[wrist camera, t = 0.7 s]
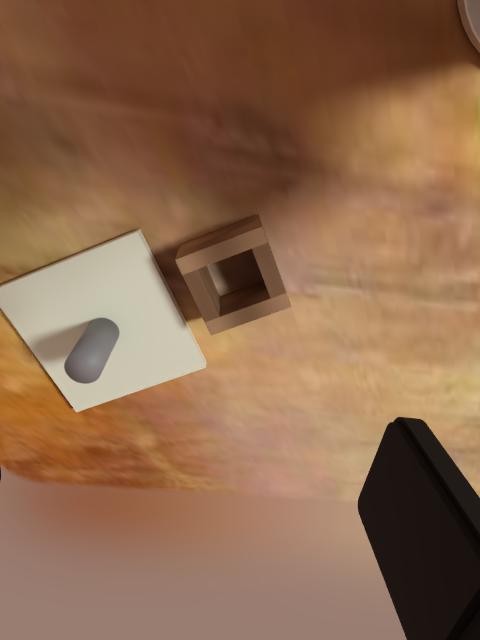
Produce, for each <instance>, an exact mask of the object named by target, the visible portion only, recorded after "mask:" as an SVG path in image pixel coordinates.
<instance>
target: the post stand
mask: <svg viewBox="0 0 480 640" xmlns="http://www.w3.org/2000/svg"><path fill="white" fill-rule="evenodd" d="M0 308H1V309H2V310H3V312H4V313H5V315H6V316H7V317H8V319H9V320H10V321H11V323H12V324H13V326H14V327H15V328H16V330H17V331H18V332H19V334H20V335H21V337H22V338H23V339H24V341H25V342H26V343H27V345H28V346H29V348H30V349H31V350H32V352H33V353H34V355H35V356H36V357H37V359H38V360H39V361H40V363H41V364H42V366H43V367H44V368H45V370H46V371H47V372H48V374H49V375H50V377H51V378H52V379H53V381H54V382H55V383H56V385H57V386H58V388H59V389H60V390H61V392H62V393H63V395H64V396H65V397H66V399H67V400H68V401H69V403H70V404H71V406H72V407H73V408H74V410H75V411H76V412H79V411H82V410H84V409H87V408H90V407H93V406H96V405H99V404H102V403H105V402H108V401H110V400H113V399H116V398H119V397H122V396H125V395H128V394H131V393H134V392H136V391H139V390H142V389H145V388H148V387H151V386H154V385H157V384H160V383H162V382H165V381H168V380H171V379H174V378H177V377H180V376H183V375H186V374H188V373H191V372H194V371H197V370H200V369H203V368H206V360H205V358H204V356H203V354H202V352H201V350H200V348H199V346H198V344H197V342H196V340H195V338H194V336H193V334H192V332H191V330H190V328H189V326H188V324H187V322H186V320H185V318H184V316H183V314H182V312H181V310H180V308H179V306H178V304H177V302H176V300H175V298H174V296H173V294H172V292H171V290H170V288H169V286H168V284H167V282H166V280H165V278H164V276H163V274H162V272H161V270H160V268H159V266H158V264H157V262H156V260H155V258H154V256H153V254H152V252H151V250H150V248H149V246H148V244H147V242H146V240H145V238H144V236H143V234H142V232H141V230H140V228H139V229H137V230H134V231H132V232H130V233H127V234H125V235H122V236H120V237H117V238H115V239H112V240H110V241H107V242H105V243H102V244H100V245H97V246H95V247H92V248H90V249H88V250H85V251H83V252H80V253H78V254H75V255H73V256H70V257H68V258H65V259H63V260H60V261H58V262H55V263H53V264H50V265H48V266H46V267H43V268H41V269H38V270H36V271H33V272H31V273H28V274H26V275H23V276H21V277H18V278H16V279H13V280H11V281H8V282H6V283H3V284H1V285H0Z"/></svg>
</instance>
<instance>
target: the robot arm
mask: <svg viewBox="0 0 480 640" xmlns="http://www.w3.org/2000/svg"><path fill="white" fill-rule="evenodd" d="M457 2H458V9H459V13H460V17H461V21H462V25H463V27H464V29H465V31H466V33H467V35H468V38H469V40H470V41H471V43H472V44H473V45H474V47H475V48H476V49H477V50H478V52H479V53H480V0H457ZM0 480H1V469H0ZM358 511H359V515H360V517H361V520H362V523H363V525H364V528H365V531H366V533H367V536H368V539H369V541H370V544H371V546H372V549H373V551H374V554H375V557H376V559H377V562H378V565H379V567H380V570H381V573H382V575H383V577H384V580H385V583H386V586H387V588H388V591H389V593H390V596H391V599H392V601H393V604H394V607H395V609H396V612H397V614H398V617H399V620H400V622H401V625H402V628H403V630H404V633H405V636H406V638H407V640H480V498H479V496H478V495H477V493H476V492H475V491H474V489H473V488H472V486H471V485H470V484H469V482H468V481H467V480H466V478H465V477H464V475H463V474H462V473H461V471H460V470H459V468H458V467H457V466H456V464H455V463H454V462H453V460H452V459H451V457H450V456H449V455H448V453H447V452H446V450H445V449H444V448H443V446H442V445H441V444H440V442H439V441H438V439H437V438H436V437H435V435H434V434H433V432H432V431H431V430H430V428H429V427H428V426H427V424H426V423H425V422H424V421H423V420H421V419H415V418H404V417H398V418H396V419H395V420H394V422H391V423H389V424H388V426H387V428H386V430H385V433H384V435H383V438H382V440H381V443H380V445H379V448H378V450H377V453H376V455H375V458H374V461H373V463H372V466H371V468H370V471H369V473H368V476H367V478H366V481H365V483H364V486H363V488H362V491H361V493H360V496H359V499H358Z"/></svg>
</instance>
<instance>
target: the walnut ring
mask: <svg viewBox="0 0 480 640" xmlns="http://www.w3.org/2000/svg"><path fill="white" fill-rule="evenodd" d="M250 249H252V251H253V253H254V256H255V259H256V261H257V264H258V266H259V269H260V272H261V274H262V277H263V280H264V281H263V282H261V283H258V284H255V285H252V286H250V287H247V288H244V289H242V290H239V291H236V292H233V293H231V294H228V295H225V296H223V297H220V296H219V294H218V292H217V289H216V287H215V285H214V283H213V280H212V278H211V276H210V274H209V271H208V269H207V267H206V266H208V265H210V264H213V263H215V262H218V261H221V260H223V259H226V258H229V257H231V256H234V255H236V254H239V253H242V252H244V251H247V250H250ZM175 261H176V263H177V265H178V267H179V269H180V272H181V274H182V276H183V278H184V280H185V282H186V284H187V286H188V288H189V290H190V292H191V295H192V297H193V299H194V301H195V303H196V305H197V307H198V309H199V311H200V313H201V315H202V318H203V320H204V322H205V324H206V326H207V328H208V330H209V332H210V334H211V335H214V334H216V333H219V332H222V331H225V330H228V329H230V328H233V327H236V326H239V325H242V324H244V323H247V322H250V321H253V320H256V319H258V318H261V317H264V316H267V315H270V314H272V313H275V312H278V311H281V310H284V309H286V308H289V307H291V305H290V302H289V299H288V296H287V293H286V290H285V287H284V285H283V282H282V279H281V276H280V274H279V271H278V268H277V265H276V262H275V260H274V257H273V254H272V251H271V249H270V246H269V243H268V240H267V238H266V235H265V232H264V229H263V226H262V224H261V221H260V218H259V215H255V216H253V217H250V218H248V219H245V220H243V221H240V222H237V223H235V224H232V225H230V226H227V227H225V228H222V229H220V230H217V231H215V232H212V233H210V234H207V235H204V236H202V237H199V238H197V239H194V240H192V241H189V242H187V243H184V244H182V245H180V247H179V250H178V253H177V256H176V259H175Z"/></svg>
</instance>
